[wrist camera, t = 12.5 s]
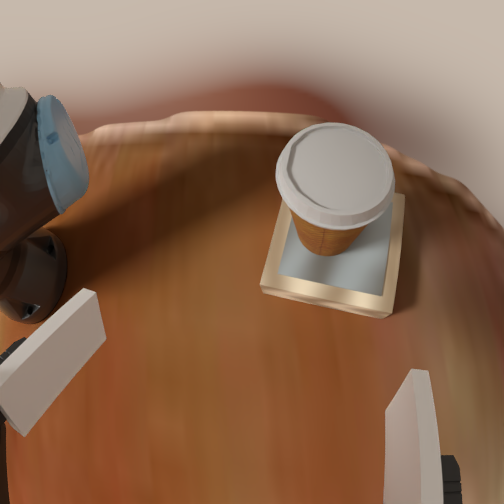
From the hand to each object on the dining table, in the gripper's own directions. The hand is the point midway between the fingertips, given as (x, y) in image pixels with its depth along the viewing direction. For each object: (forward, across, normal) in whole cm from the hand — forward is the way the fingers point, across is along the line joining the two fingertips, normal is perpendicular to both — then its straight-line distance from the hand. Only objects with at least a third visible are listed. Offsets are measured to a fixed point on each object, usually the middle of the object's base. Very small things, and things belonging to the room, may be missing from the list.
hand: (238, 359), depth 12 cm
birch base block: (+27, +4, -7) cm, 28 cm away
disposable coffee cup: (+24, +3, -4) cm, 25 cm away
